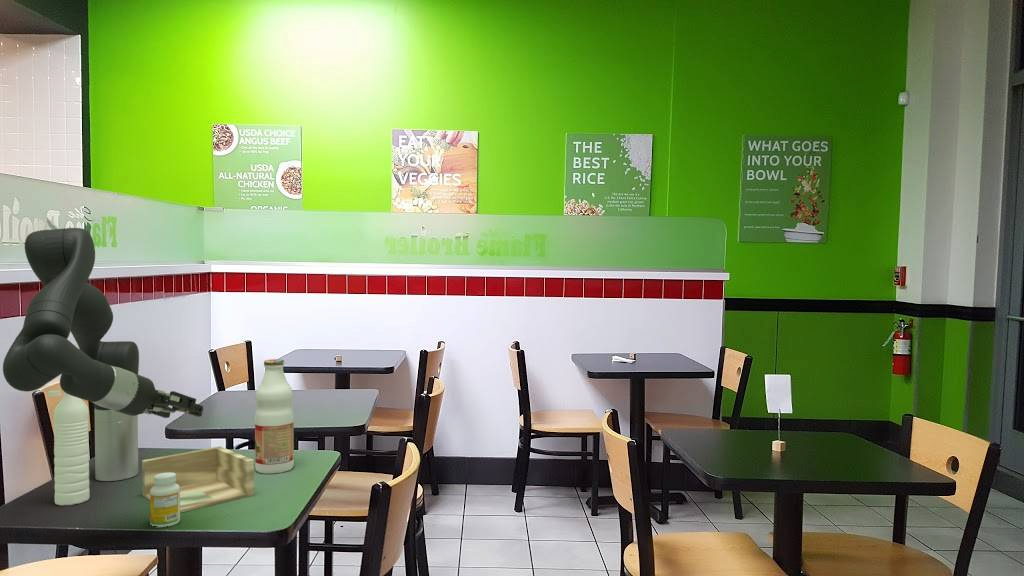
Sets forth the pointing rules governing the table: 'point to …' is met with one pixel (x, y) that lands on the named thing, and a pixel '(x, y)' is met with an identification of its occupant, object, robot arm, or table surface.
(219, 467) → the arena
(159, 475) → the supplement bottle
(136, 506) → the table surface
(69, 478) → the water bottle
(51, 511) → the table surface
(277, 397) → the fruit juice
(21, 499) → the table surface
